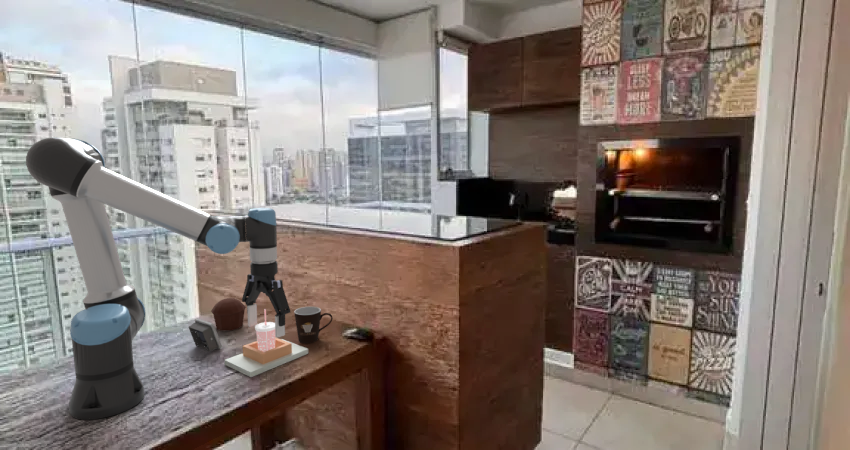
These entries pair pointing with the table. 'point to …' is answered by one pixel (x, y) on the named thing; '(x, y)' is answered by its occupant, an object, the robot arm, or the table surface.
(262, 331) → the beverage cup
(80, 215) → the robot arm
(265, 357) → the cup holder
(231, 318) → the muffin
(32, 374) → the table surface
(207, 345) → the electrical switch
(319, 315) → the coffee mug
